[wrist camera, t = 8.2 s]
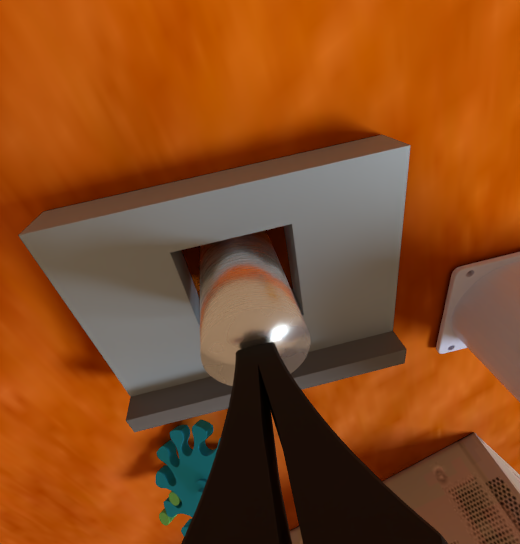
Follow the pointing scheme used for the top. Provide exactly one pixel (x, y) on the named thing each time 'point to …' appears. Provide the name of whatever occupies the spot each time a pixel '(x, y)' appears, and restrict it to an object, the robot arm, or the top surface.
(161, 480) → the gear
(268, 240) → the cylindrical peg
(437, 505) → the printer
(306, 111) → the top surface
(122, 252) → the plate
